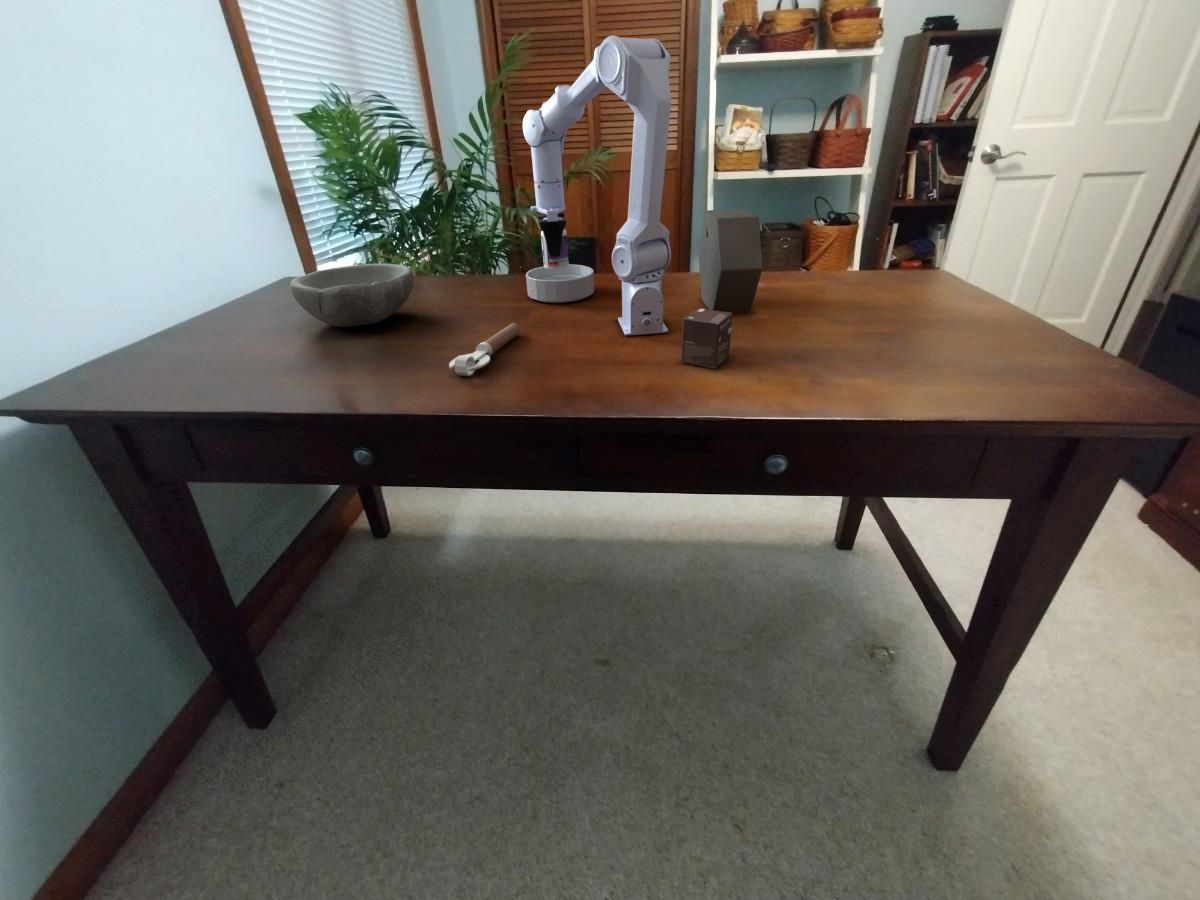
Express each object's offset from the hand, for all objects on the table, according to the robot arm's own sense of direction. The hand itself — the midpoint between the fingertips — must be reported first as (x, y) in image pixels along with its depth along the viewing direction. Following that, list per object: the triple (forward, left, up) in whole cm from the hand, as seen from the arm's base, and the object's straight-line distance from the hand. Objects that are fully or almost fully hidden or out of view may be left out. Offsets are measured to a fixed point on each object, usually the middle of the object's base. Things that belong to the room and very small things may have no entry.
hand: (554, 253), depth 115 cm
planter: (-12, -34, -10) cm, 37 cm away
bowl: (-6, +40, -10) cm, 42 cm away
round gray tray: (+4, -1, -10) cm, 11 cm away
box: (-40, -22, -10) cm, 47 cm away
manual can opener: (-30, +13, -10) cm, 35 cm away
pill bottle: (0, 0, -3) cm, 3 cm away
